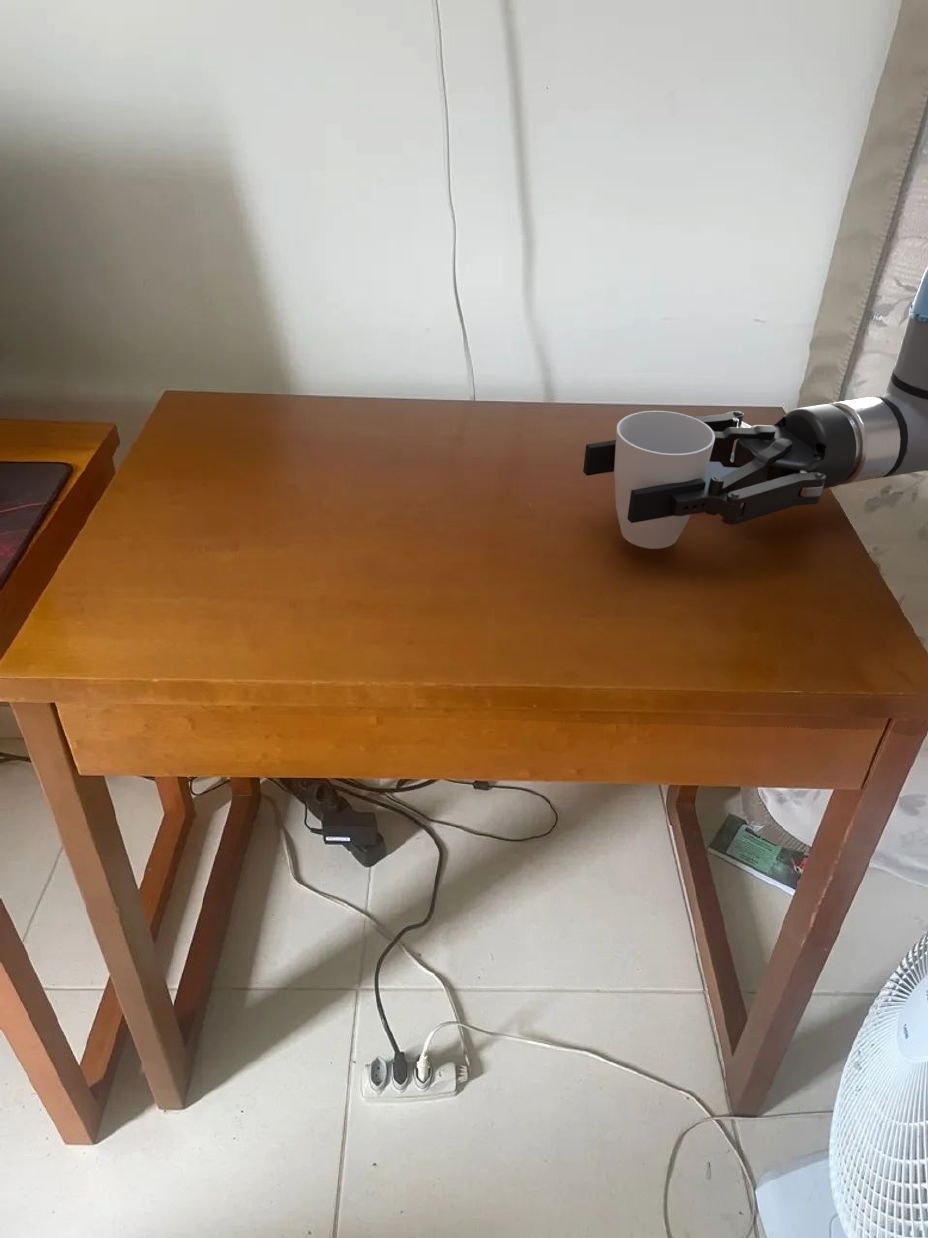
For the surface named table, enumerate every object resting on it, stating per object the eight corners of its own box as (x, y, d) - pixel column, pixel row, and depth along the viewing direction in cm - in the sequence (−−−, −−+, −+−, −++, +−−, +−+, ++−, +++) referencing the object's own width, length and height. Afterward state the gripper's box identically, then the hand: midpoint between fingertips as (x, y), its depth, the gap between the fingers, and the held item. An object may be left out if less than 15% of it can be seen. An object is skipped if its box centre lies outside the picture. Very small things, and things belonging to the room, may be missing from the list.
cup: (712, 548, 86) (734, 445, 80) (631, 565, 84) (648, 461, 78) (664, 503, 92) (681, 405, 86) (587, 518, 90) (599, 418, 84)
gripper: (895, 537, 84) (661, 585, 78) (759, 433, 99) (554, 466, 93) (922, 459, 80) (676, 503, 73) (775, 363, 95) (561, 392, 88)
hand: (608, 482), depth 83 cm, fingers closed on cup, 8 cm apart
